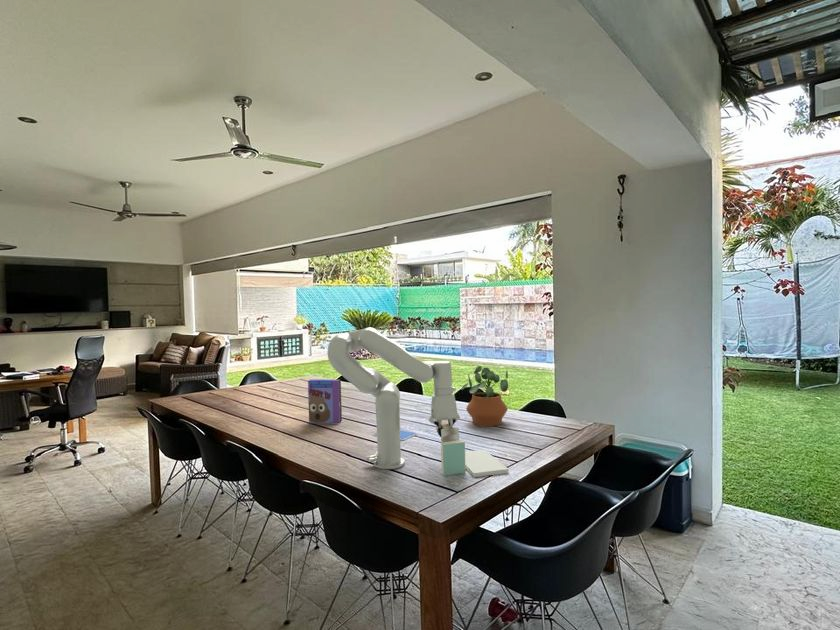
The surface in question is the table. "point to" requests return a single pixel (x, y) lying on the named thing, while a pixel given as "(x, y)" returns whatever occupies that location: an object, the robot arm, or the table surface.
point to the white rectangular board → (483, 464)
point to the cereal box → (324, 401)
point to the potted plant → (486, 399)
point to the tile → (453, 457)
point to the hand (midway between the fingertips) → (445, 435)
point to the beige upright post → (448, 432)
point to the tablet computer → (404, 434)
